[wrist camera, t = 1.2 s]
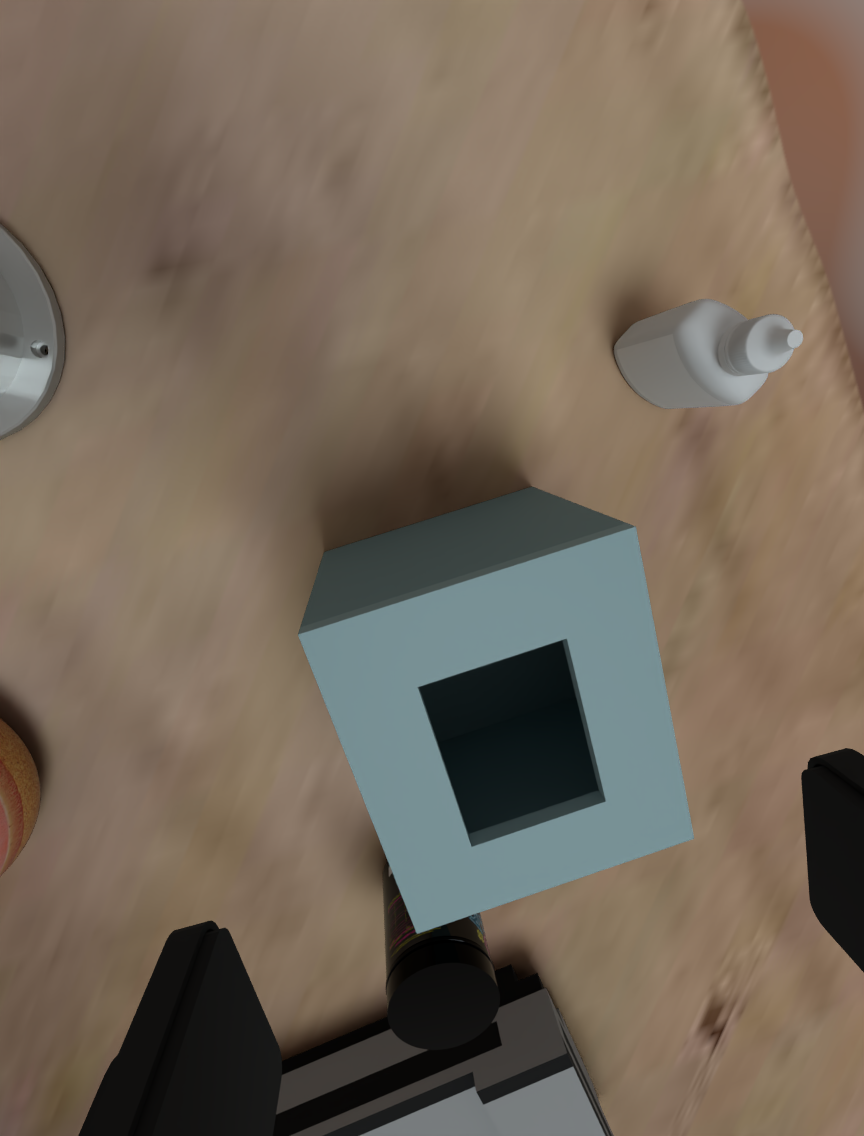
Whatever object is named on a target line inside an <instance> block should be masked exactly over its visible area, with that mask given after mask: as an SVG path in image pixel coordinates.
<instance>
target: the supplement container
mask: <svg viewBox="0 0 864 1136" xmlns="http://www.w3.org/2000/svg"><path fill="white" fill-rule="evenodd" d="M383 903H384V929H385V954H386V995H387V1017H388V1022H389V1025H390V1027H391V1029H392V1031H393V1032H394V1034H395V1035H396V1036H397V1037H398V1038H399V1039H400V1040H402V1041H403V1042H405V1043H407V1044H409V1045H411V1046H414V1047H417V1048H421V1049H427V1050H442V1049H448V1048H453V1047H456V1046H459V1045H462V1044H465V1043H467V1042H469V1041H471V1040H472V1039H474V1038H476V1037H477V1036H479V1035H480V1034H481V1033H482V1032H484V1031H485V1030H486V1029H487V1028H488V1027H489V1025H490V1024H491V1023H492V1021H493V1020H494V1018H495V1016H496V1014H497V1012H498V1009H499V1005H500V993H499V989H498V984H497V980H496V976H495V970H494V965H493V962H492V960H491V957H490V953H489V949H488V944H487V940H486V936H485V932H484V927H483V923H482V919H481V915H480V912H479V913H476V914H473V915H471V916H468V917H465V918H462V919H459V920H456V921H453V922H450V923H447V924H444V925H441V926H439V927H436V928H433V929H430V930H427V931H424V932H421V933H418V934H417V933H416V930H415V928H414V925H413V923H412V920H411V918H410V915H409V913H408V910H407V908H406V905H405V903H404V900H403V898H402V895H401V893H400V890H399V888H398V885H397V883H396V880H395V877H394V875H393V872H392V870H391V867H390V865H389V862H388V861H387V863H386V865H385V868H384V871H383Z"/></svg>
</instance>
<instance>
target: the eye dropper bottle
mask: <svg viewBox="0 0 864 1136" xmlns="http://www.w3.org/2000/svg"><path fill="white" fill-rule="evenodd" d="M802 340H803V335H802V332H801V331H799V330H794V328H793V326H792V324H791V322H789V320H787V318H785V317H783V316H780V315H777V314H770V315H765V316H761V317H757V318H754V319H750V320H748V319H747V318H745V317H744V316H743V315H742V314H740V313H739V312H738V311H736V310H734V309H733V308H731V307H729V306H727V305H725V304H723V303H720V302H718V301H715V300H712V299H699V300H696V301H693V302H690V303H687V304H684V305H681V306H679V307H676V308H673V309H670V310H667V311H665V312H662V313H659V314H656V315H654V316H651V317H648V318H646V319H643V320H640V321H638V322H636V323H634V324H633V325H632V326H631V327H630V328H629V329H628V330H627V331H626V332H625V333H624V334H623V335H622V336H621V337H620V338H619V340H618V341H617V342H616V344H615V346H614V355H615V359H616V362H617V364H618V367H619V369H620V371H621V373H622V375H623V377H624V378H625V380H626V381H627V383H628V384H629V385H630V386H631V388H632V389H633V390H634V391H635V392H636V393H637V394H638V395H640V396H641V397H642V398H644V399H645V400H647V401H648V402H650V403H652V404H654V405H656V406H658V407H661V408H664V409H675V408H698V407H717V406H731V405H738V404H741V403H743V402H745V401H747V400H748V399H749V398H750V397H751V396H752V395H753V394H754V393H755V392H756V391H757V390H758V389H759V388H760V387H761V386H762V385H763V384H764V382H765V381H766V379H767V377H768V373H769V372H774V371H776V370H777V369H779V368H780V367H782V366H783V365H784V364H785V363H786V362H787V361H788V360H789V358H790V357H791V355H792V353H793V350H794V348H796V347H798V346H799V345H800V344H801V343H802Z"/></svg>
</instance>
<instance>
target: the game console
mask: <svg viewBox="0 0 864 1136" xmlns="http://www.w3.org/2000/svg"><path fill="white" fill-rule="evenodd" d="M495 976H496V980H497V984H498V989H499V993H500V1005H499V1009H498V1012H497V1014H496V1016H495V1018H494V1020H493V1021H492V1023H491V1024H490V1025H489V1027H488V1028H487V1029H486V1030H485V1031H484V1032H482V1033H481V1034H480V1035H479V1036H477V1037H476V1038H474V1039H472V1040H471V1041H469V1042H467V1043H465V1044H462V1045H459V1046H456V1047H453V1048H448V1049H442V1050H427V1049H421V1048H417V1047H414V1046H411V1045H409V1044H407V1043H405V1042H403V1041H402V1040H400V1039H399V1038H398V1037H397V1036H396V1035H395V1034H394V1032H393V1031H392V1029H391V1027H390V1025H389V1022H388V1017H386V1018H383V1019H381V1020H379V1021H376V1022H374V1023H372V1024H369V1025H367V1026H364V1027H362V1028H360V1029H357V1030H355V1031H353V1032H350V1033H348V1034H346V1035H343V1036H341V1037H339V1038H336V1039H334V1040H331V1041H329V1042H327V1043H324V1044H322V1045H320V1046H317V1047H315V1048H313V1049H310V1050H308V1051H306V1052H303V1053H301V1054H298V1055H296V1056H294V1057H291V1058H289V1059H287V1060H284V1061H282V1078H281V1085H280V1092H279V1098H278V1105H277V1111H276V1117H275V1124H274V1130H273V1136H614V1135H613V1133H612V1131H611V1129H610V1127H609V1124H608V1122H607V1120H606V1118H605V1116H604V1113H603V1111H602V1109H601V1106H600V1103H599V1100H598V1097H597V1094H596V1092H595V1089H594V1086H593V1083H592V1081H591V1079H590V1077H589V1075H588V1072H587V1070H586V1068H585V1066H584V1064H583V1061H582V1059H581V1057H580V1055H579V1053H578V1050H577V1048H576V1046H575V1044H574V1042H573V1039H572V1037H571V1035H570V1033H569V1031H568V1028H567V1026H566V1024H565V1022H564V1020H563V1017H562V1015H561V1013H560V1011H559V1009H558V1008H557V1009H556V1008H555V1006H554V1004H553V1002H552V1000H551V997H550V995H549V993H548V991H547V989H546V988H544V987H543V984H542V982H541V980H540V978H539V976H538V973H536V974H534V975H531V976H529V977H526V978H524V979H522V980H518V978H517V976H516V974H515V972H514V970H513V968H512V965H508V966H506V967H504V968H501V969H499V970H496V971H495Z"/></svg>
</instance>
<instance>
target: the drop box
mask: <svg viewBox="0 0 864 1136" xmlns="http://www.w3.org/2000/svg"><path fill="white" fill-rule="evenodd" d="M298 636H299V639H300V641H301V644H302V646H303V649H304V651H305V654H306V656H307V659H308V661H309V664H310V666H311V669H312V671H313V674H314V676H315V679H316V681H317V684H318V686H319V689H320V691H321V694H322V696H323V699H324V701H325V704H326V706H327V709H328V711H329V714H330V716H331V719H332V722H333V724H334V727H335V729H336V732H337V734H338V737H339V739H340V742H341V744H342V747H343V749H344V752H345V754H346V757H347V759H348V762H349V764H350V767H351V769H352V772H353V774H354V777H355V779H356V782H357V784H358V787H359V789H360V792H361V794H362V797H363V800H364V802H365V805H366V807H367V810H368V812H369V815H370V817H371V820H372V822H373V825H374V827H375V830H376V832H377V835H378V837H379V840H380V842H381V845H382V847H383V850H384V852H385V855H386V857H387V860H388V862H389V865H390V867H391V870H392V872H393V875H394V877H395V880H396V883H397V885H398V888H399V890H400V893H401V895H402V898H403V900H404V903H405V905H406V908H407V910H408V913H409V915H410V918H411V920H412V923H413V925H414V928H415V930H416V933H417V934H418V933H421V932H424V931H427V930H430V929H433V928H436V927H439V926H441V925H444V924H447V923H450V922H453V921H456V920H459V919H462V918H465V917H468V916H471V915H473V914H476V913H479V912H482V911H485V910H488V909H491V908H494V907H497V906H500V905H503V904H505V903H508V902H511V901H514V900H517V899H520V898H523V897H526V896H529V895H532V894H535V893H537V892H540V891H543V890H546V889H549V888H552V887H555V886H558V885H561V884H564V883H567V882H569V881H572V880H575V879H578V878H581V877H584V876H587V875H590V874H593V873H596V872H599V871H601V870H604V869H607V868H610V867H613V866H616V865H619V864H622V863H625V862H628V861H631V860H634V859H636V858H639V857H642V856H645V855H648V854H651V853H654V852H657V851H660V850H663V849H666V848H668V847H671V846H674V845H677V844H680V843H683V842H686V841H689V840H692V839H694V835H693V830H692V825H691V819H690V814H689V809H688V803H687V798H686V792H685V787H684V782H683V776H682V771H681V766H680V760H679V755H678V750H677V744H676V739H675V734H674V728H673V723H672V718H671V712H670V707H669V702H668V696H667V691H666V686H665V680H664V675H663V670H662V664H661V659H660V654H659V648H658V643H657V638H656V632H655V627H654V622H653V616H652V611H651V606H650V600H649V595H648V590H647V584H646V579H645V573H644V568H643V563H642V557H641V552H640V547H639V541H638V536H637V531H636V527H635V526H633V525H630V524H628V523H625V522H622V521H620V520H617V519H615V518H612V517H609V516H607V515H604V514H602V513H599V512H597V511H594V510H591V509H589V508H586V507H584V506H581V505H578V504H576V503H573V502H571V501H568V500H565V499H563V498H560V497H558V496H555V495H552V494H550V493H547V492H545V491H542V490H540V489H537V488H534V487H529V488H526V489H523V490H520V491H516V492H513V493H510V494H507V495H504V496H501V497H497V498H494V499H491V500H488V501H485V502H481V503H478V504H475V505H472V506H469V507H466V508H462V509H459V510H456V511H453V512H450V513H447V514H443V515H440V516H437V517H434V518H431V519H427V520H424V521H421V522H418V523H415V524H412V525H408V526H405V527H402V528H399V529H396V530H393V531H389V532H386V533H383V534H380V535H377V536H374V537H370V538H367V539H364V540H361V541H358V542H354V543H351V544H348V545H345V546H342V547H339V548H335V549H332V550H329V551H326V552H324V554H323V557H322V560H321V563H320V566H319V570H318V573H317V576H316V579H315V582H314V585H313V589H312V592H311V595H310V598H309V601H308V605H307V608H306V611H305V614H304V617H303V620H302V624H301V627H300V630H299V633H298Z"/></svg>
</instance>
